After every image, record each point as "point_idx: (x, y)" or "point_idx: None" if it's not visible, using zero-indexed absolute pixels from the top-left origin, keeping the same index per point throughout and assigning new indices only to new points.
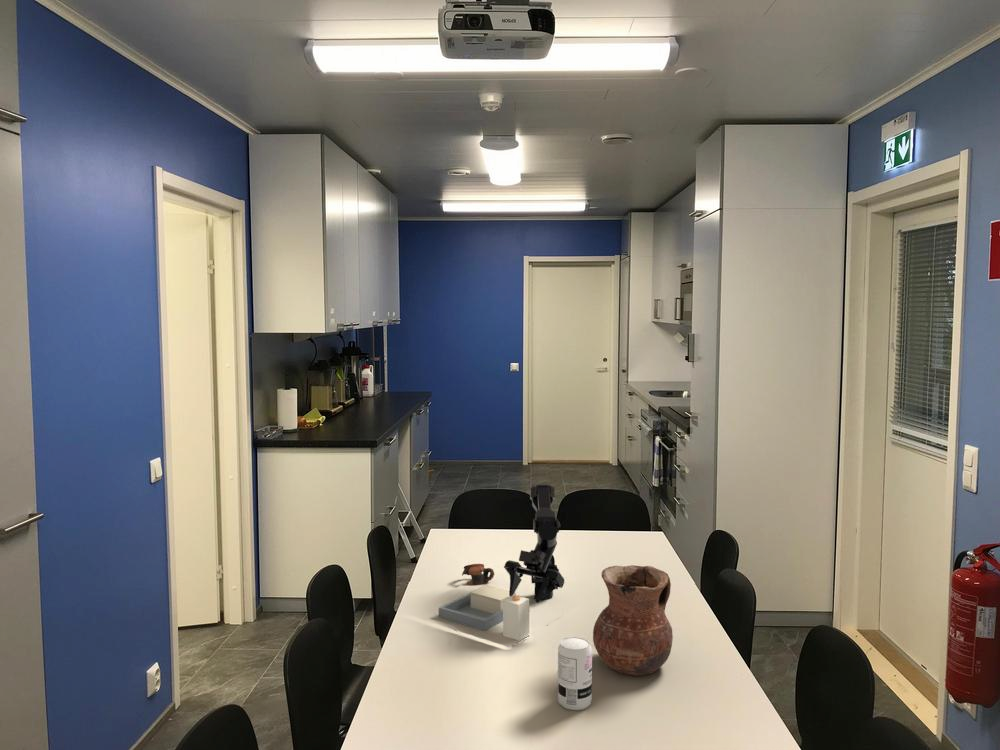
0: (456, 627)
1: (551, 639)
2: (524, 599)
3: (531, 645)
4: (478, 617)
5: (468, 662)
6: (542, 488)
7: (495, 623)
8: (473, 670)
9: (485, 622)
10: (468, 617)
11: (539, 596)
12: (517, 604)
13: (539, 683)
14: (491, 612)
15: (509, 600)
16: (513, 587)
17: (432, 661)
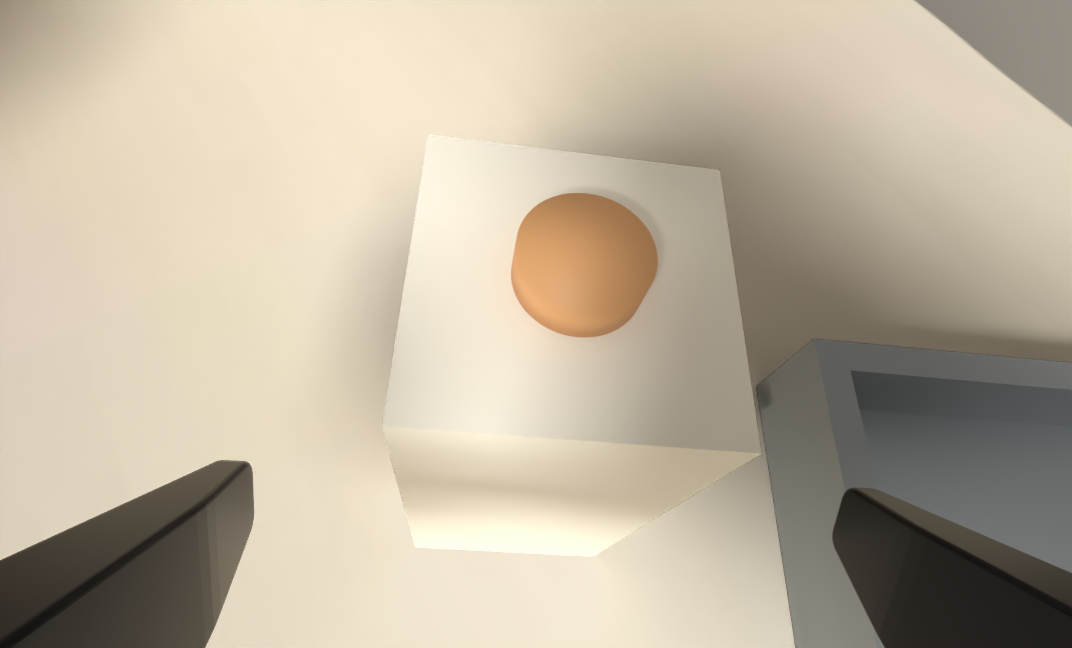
0: None
1: None
2: (455, 356)
3: (319, 404)
4: None
5: (561, 54)
6: None
7: (802, 527)
8: (484, 6)
9: (807, 358)
10: (984, 360)
11: (115, 516)
12: (447, 138)
13: (67, 10)
14: None
15: (644, 205)
16: (984, 624)
17: (712, 10)
